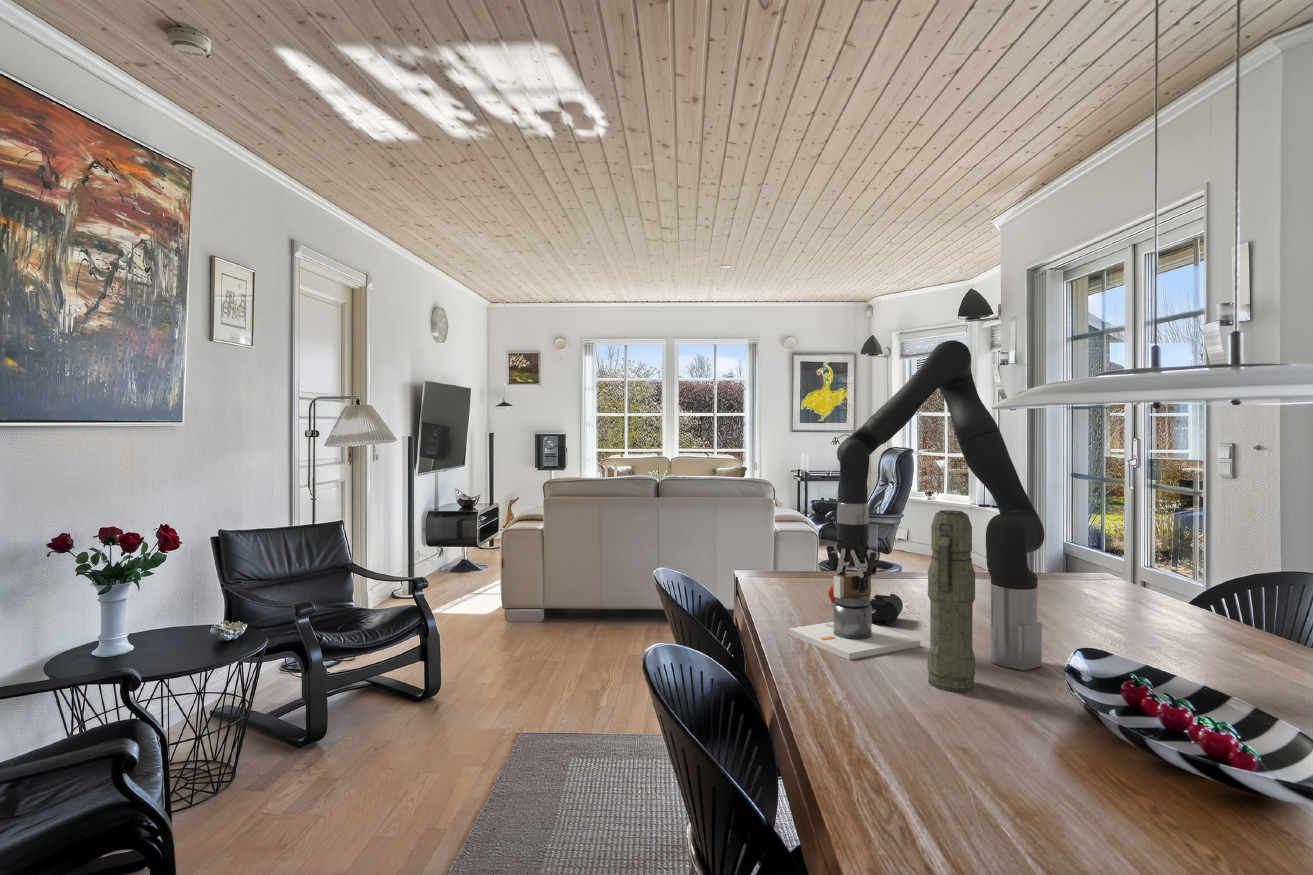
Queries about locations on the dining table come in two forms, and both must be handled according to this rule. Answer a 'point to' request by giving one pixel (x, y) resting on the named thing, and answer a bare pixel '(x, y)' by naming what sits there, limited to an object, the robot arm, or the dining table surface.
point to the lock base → (854, 646)
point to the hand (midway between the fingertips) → (852, 590)
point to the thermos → (951, 603)
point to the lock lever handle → (851, 591)
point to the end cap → (886, 609)
